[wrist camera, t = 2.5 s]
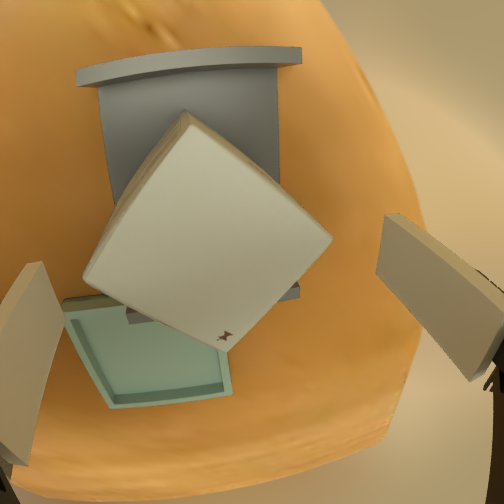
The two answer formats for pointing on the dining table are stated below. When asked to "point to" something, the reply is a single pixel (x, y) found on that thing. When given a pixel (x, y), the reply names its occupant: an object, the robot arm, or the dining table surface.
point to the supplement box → (203, 238)
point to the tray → (142, 357)
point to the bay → (189, 107)
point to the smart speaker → (6, 468)
